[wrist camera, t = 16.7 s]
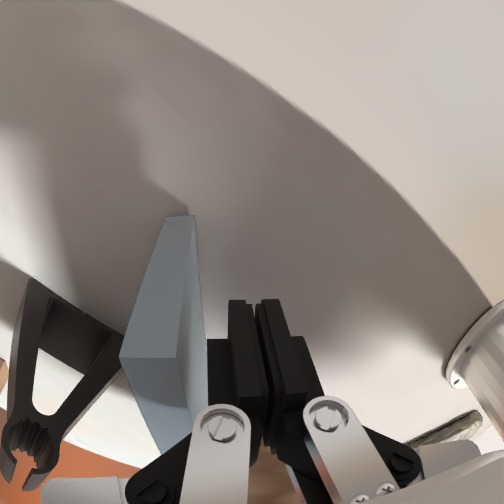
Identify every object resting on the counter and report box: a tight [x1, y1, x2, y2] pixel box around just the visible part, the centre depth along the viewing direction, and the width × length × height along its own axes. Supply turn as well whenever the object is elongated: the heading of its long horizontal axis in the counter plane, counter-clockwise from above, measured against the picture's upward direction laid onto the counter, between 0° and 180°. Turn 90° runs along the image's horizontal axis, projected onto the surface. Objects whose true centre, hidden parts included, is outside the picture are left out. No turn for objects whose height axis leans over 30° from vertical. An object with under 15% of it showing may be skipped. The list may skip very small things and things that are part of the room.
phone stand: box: [0, 278, 125, 491], centre depth 14 cm, size 9×6×12 cm, turn 50°
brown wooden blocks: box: [0, 359, 301, 504], centre depth 16 cm, size 35×2×16 cm, turn 73°
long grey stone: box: [407, 411, 483, 449], centre depth 36 cm, size 35×5×10 cm
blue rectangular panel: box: [119, 215, 208, 455], centre depth 16 cm, size 20×2×10 cm, turn 0°
